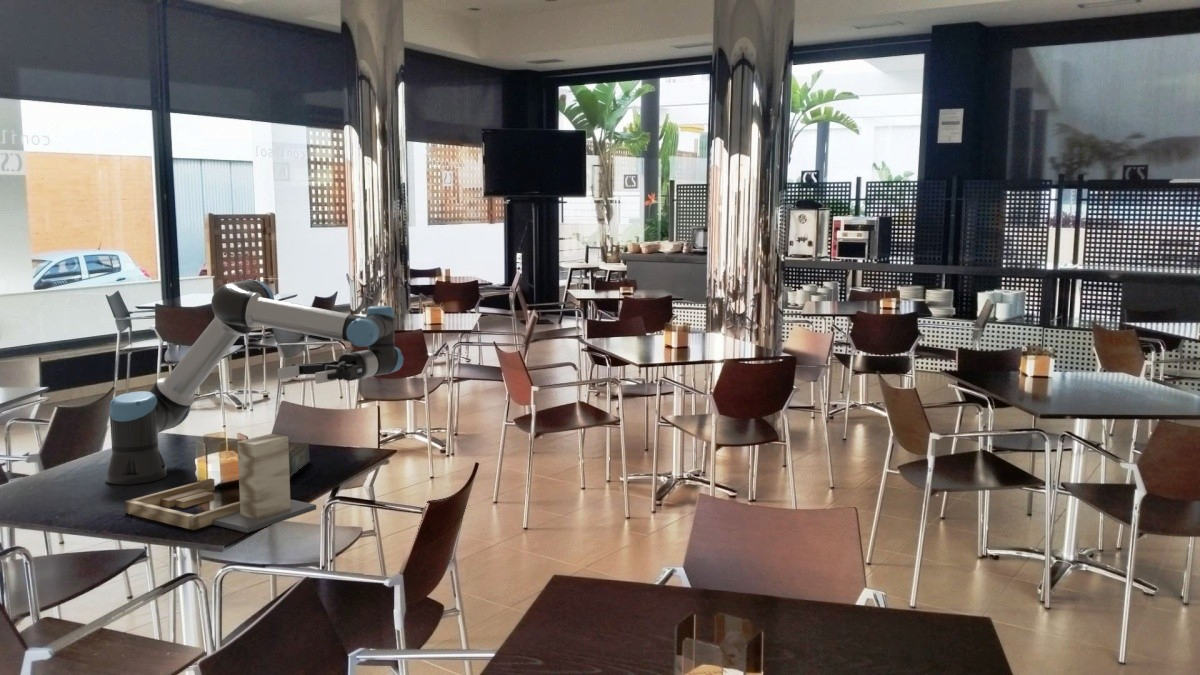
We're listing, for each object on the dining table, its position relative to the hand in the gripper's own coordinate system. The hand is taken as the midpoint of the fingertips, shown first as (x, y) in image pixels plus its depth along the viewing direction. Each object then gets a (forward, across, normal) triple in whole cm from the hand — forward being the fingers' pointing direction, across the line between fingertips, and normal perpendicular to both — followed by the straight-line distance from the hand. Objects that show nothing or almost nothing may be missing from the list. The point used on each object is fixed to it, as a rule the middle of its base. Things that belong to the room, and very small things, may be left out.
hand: (297, 376), depth 242 cm
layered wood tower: (+16, -5, -31) cm, 35 cm away
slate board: (+16, -5, -32) cm, 36 cm away
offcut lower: (+17, +23, -32) cm, 44 cm away
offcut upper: (+17, +20, -32) cm, 42 cm away
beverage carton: (-17, +25, -32) cm, 44 cm away
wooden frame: (+19, +14, -32) cm, 40 cm away
